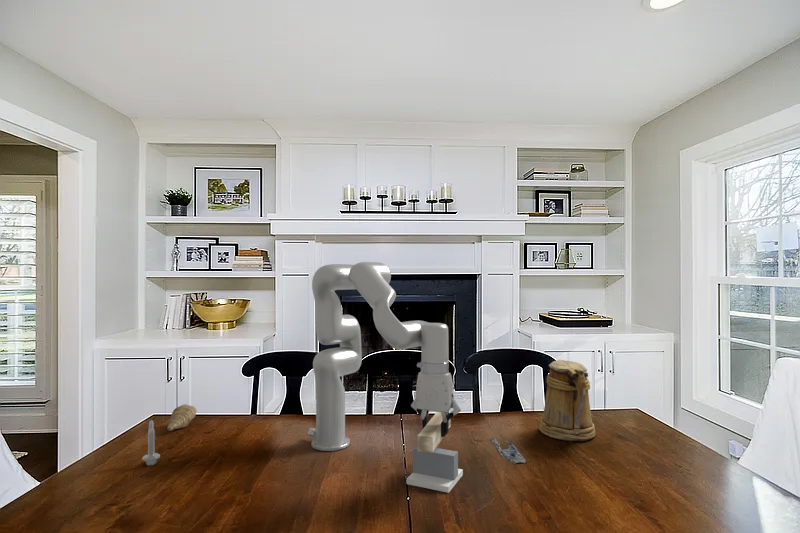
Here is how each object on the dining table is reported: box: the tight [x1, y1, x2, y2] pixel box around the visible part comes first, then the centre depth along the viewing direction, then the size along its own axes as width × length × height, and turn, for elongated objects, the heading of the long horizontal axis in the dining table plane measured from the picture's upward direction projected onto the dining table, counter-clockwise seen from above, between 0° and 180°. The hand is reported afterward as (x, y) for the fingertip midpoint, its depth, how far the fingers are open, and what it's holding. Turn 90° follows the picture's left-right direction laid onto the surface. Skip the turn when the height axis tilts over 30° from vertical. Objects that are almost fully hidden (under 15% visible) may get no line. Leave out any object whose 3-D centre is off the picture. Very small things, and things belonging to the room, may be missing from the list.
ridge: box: [406, 444, 464, 493], centre depth 131 cm, size 12×12×8 cm
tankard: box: [538, 359, 596, 442], centre depth 166 cm, size 18×24×25 cm
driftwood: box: [490, 437, 527, 465], centre depth 152 cm, size 21×7×2 cm, turn 1°
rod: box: [417, 411, 452, 453], centre depth 131 cm, size 4×22×4 cm, turn 162°
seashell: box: [166, 403, 198, 432], centre depth 174 cm, size 14×8×8 cm, turn 2°
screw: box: [141, 420, 161, 466], centre depth 142 cm, size 13×5×5 cm
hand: (435, 433), depth 131 cm, fingers closed on rod, 4 cm apart
